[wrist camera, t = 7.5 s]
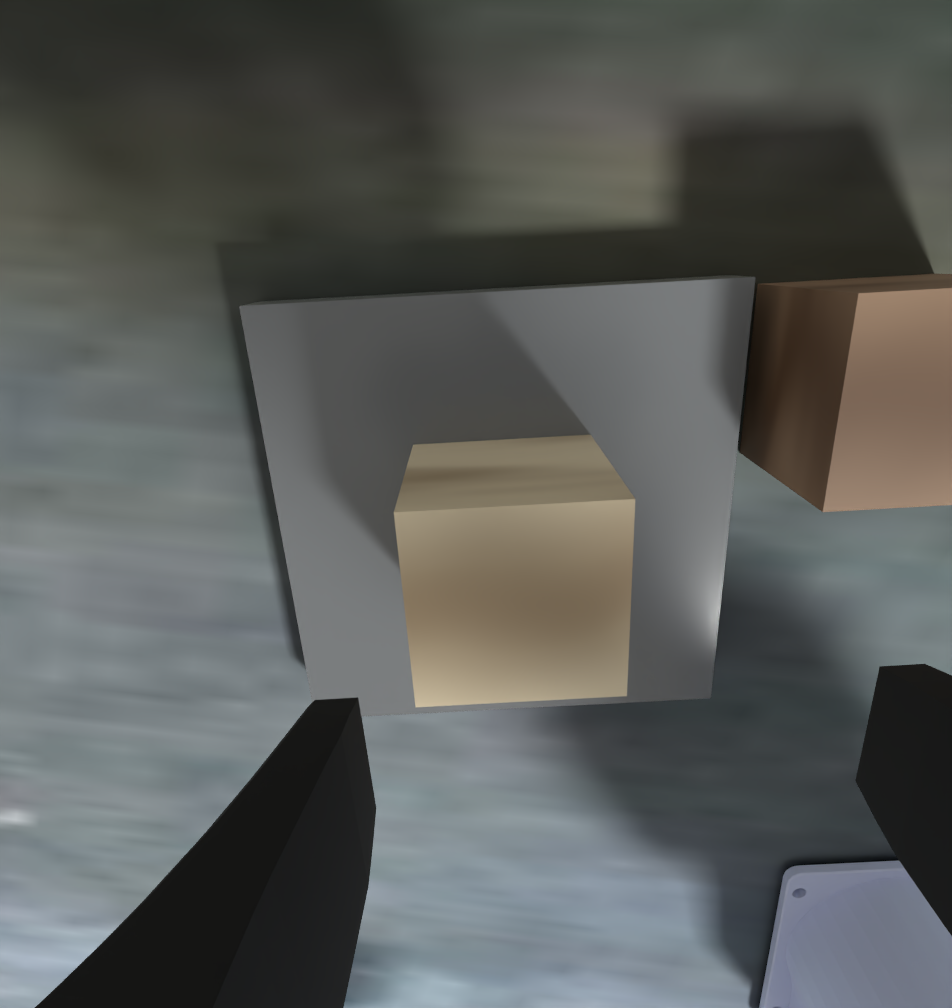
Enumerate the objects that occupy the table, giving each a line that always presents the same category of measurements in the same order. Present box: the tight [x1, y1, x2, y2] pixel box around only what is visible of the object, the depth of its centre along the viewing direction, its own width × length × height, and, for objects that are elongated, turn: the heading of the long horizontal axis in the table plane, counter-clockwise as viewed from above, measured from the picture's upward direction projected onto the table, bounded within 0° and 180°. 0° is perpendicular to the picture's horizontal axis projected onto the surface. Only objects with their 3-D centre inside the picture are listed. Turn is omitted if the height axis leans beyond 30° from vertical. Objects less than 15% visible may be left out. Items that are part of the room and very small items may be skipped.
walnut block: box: [740, 274, 952, 512], centre depth 15 cm, size 4×4×4 cm
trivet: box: [239, 275, 756, 717], centre depth 17 cm, size 12×12×2 cm
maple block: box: [394, 435, 635, 707], centre depth 15 cm, size 4×4×4 cm
